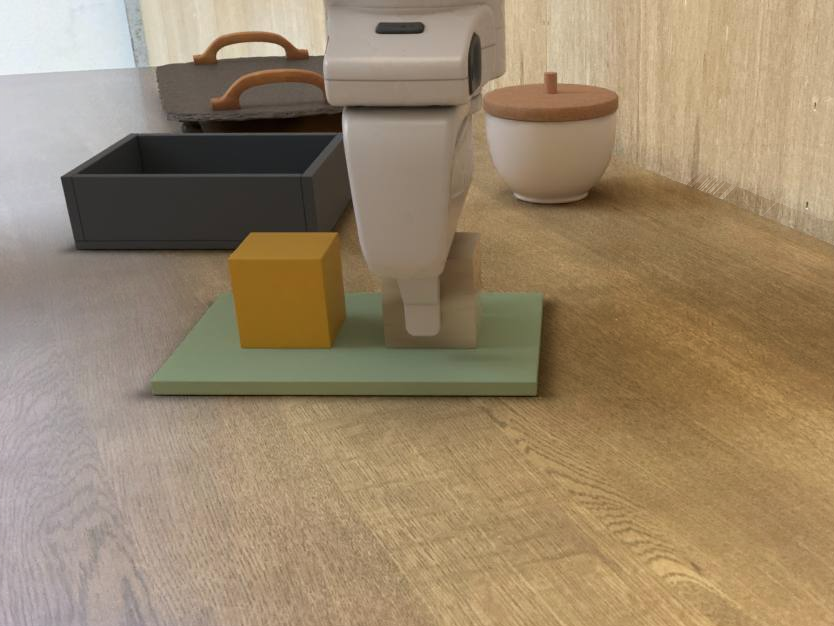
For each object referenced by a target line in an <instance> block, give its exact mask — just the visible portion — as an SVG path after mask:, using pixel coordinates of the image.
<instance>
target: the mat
mask: <svg viewBox="0 0 834 626" xmlns="http://www.w3.org/2000/svg"><path fill="white" fill-rule="evenodd" d="M344 295H345V305H346V315H347V317H346V319H345V321H344V323H343V325H342V327H341V329H340V331H339V333H338V335H337V337H336V339H335V341H334V343H333V345H332V347H331V348H241V345H240V338H239V332H238V325H237V319H236V312H235V306H234V299H233V292H231V291H230V292H224V291H223V292H221V293H220V294H219V296H217V298H216V299H215V300H214V302H213V303H212V304H211V305H210V306H209V308H208V309H207V310H206V311H205V313H204V314H203V315H202V316H201V318H200V319H198V322H197V323H195V325H194V326H193V327H192V329H191V330H190V331H189V332H188V334H186V336H185V337H184V339H182V340H181V342H180V343H179V345H178V346H177V347H176V348H175V350H174V351H173V352H172V353H171V355H170V356H169V357H168V358H167V360H165V362H164V363H163V364H162V365H161V367H160V368H159V369H158V371H157V372H156V373H155V374H154V375H153V377H152V378H151V379H150V381H149V382H150V388H151V393H152V395H154V396H155V395H164V396H165V395H167V396H169V395H171V396H172V395H173V396H175V395H179V396H180V395H183V396H184V395H185V396H186V395H191V396H192V395H193V396H194V395H195V396H196V395H197V396H198V395H200V396H201V395H202V396H203V395H204V396H205V395H207V396H210V395H211V396H214V395H215V396H216V395H217V396H229V395H231V396H238V395H239V396H252V395H253V396H507V397H508V396H513V397H515V396H516V397H517V396H526V397H529V396H532V397H533V396H537V394H538V383H539V367H540V355H541V354H540V353H541V341H542V326H543V325H542V324H543V313H544V311H543V310H544V292H482V310H483V318H482V323H481V328H480V333H479V338H478V343H477V347H476V348H386V347H385V336H384V323H383V311H382V299H381V292H344Z"/></svg>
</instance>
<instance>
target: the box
mask: <svg viewBox="0 0 834 626" xmlns="http://www.w3.org/2000/svg"><path fill="white" fill-rule="evenodd" d="M60 182H61V186H62V191H63V196H64V200H65V205H66V209H67V213H68V217H69V222H70V227H71V231H72V237H73V240H74V245H75V249H76V250H236V249H237V248H238V247H239V245H240V244H241V243H242V242H243V241H244V240H245V239H246V237H247V236H248V235H249V234H250V233H251V232H333V229H334V228H335V226H336V225H337V223H338V222H339V220H340V218H341V217H342V215H343V214H344V212H345V211H346V209H347V207H348V206H349V205H350V203H351V202H352V201H353V200H352V194H351V188H350V182H349V175H348V169H347V163H346V156H345V149H344V141H343V132H204V133H181V132H149V133H147V132H144V133H143V132H141V133H139V132H136V133H134V132H130V133H129V134H127V135H126V136H124V137H123V138H121V139H119V140H118V141H116V142H114V143H113V144H111V145H109V146H108V147H106V148H104V149H103V150H101V151H100V152H99V153H97V154H95V155H93V156H92V157H90V158H89V159H87V160H85V161H83V162H82V163H81V164H79V165H77V166H76V167H74V168H73V169H70V170H69V171H68V172H66V173H64V174H63V175H62V176H60Z"/></svg>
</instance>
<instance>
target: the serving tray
mask: <svg viewBox="0 0 834 626" xmlns="http://www.w3.org/2000/svg"><path fill="white" fill-rule="evenodd" d="M244 43H245V44H246V43H268V44H275V45H277V46H280V47H281V48H283V49H284V53H285V54H284V55H282V56H281V55H280V56H279V55H272V56H271V55H268V56H248V57H246V56H244V57H231V58H230V57H229V58H219V59H218V58H217V54H218V53H219V51H220V50H221V49H223V48H225V47H228V46H232V45H236V44H244ZM324 55H325V54H323V55H310V53H309V50H308V48H306V49H304V48H300V49H299V48H297V47H296V46H295V45H293V43H292V42H291V41H289V40H288V39H286V38H285V37H284V36H282V35H280V34H279V33H275V32H269V31H263V30H251V31H236V32H231V33H225V34H223V35H220V36H218V37H216V38H215V39H214V40H213V41H212V42H211V43H209V45H208V47H207V48H206V49H205V50H204V52H203V53H201V54H195V55H193V54H192V60H193V61H189V62H188V61H187V62H175V63H166V64H164V65H158V66H156V68H155V78H156V80H155V81H156V83H157V89H158V93H159V99H160V101H161V102H160V104H161V108H162V112H163V117H164V118H165V120H167V121H178V122H179V123H182V124H181V127H180V133H205V132H204V128H203V125H202V124H201V123H206V122H217V121H218V122H223V121H237V122H242V121H251V120H267V119H268V120H270V119H271V120H272V119H273V120H274V119H275V120H277V119H279V120H280V119H289V118H290V119H291V118H302V117H303V118H304V117H314V116H322V115H323V116H329V115H337V114H343V109H344V107H345V106H333V105H330V104H329V102H328V101H327V98H326V92H325V83H324V79H325V78H324V72H323V61H324Z"/></svg>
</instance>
